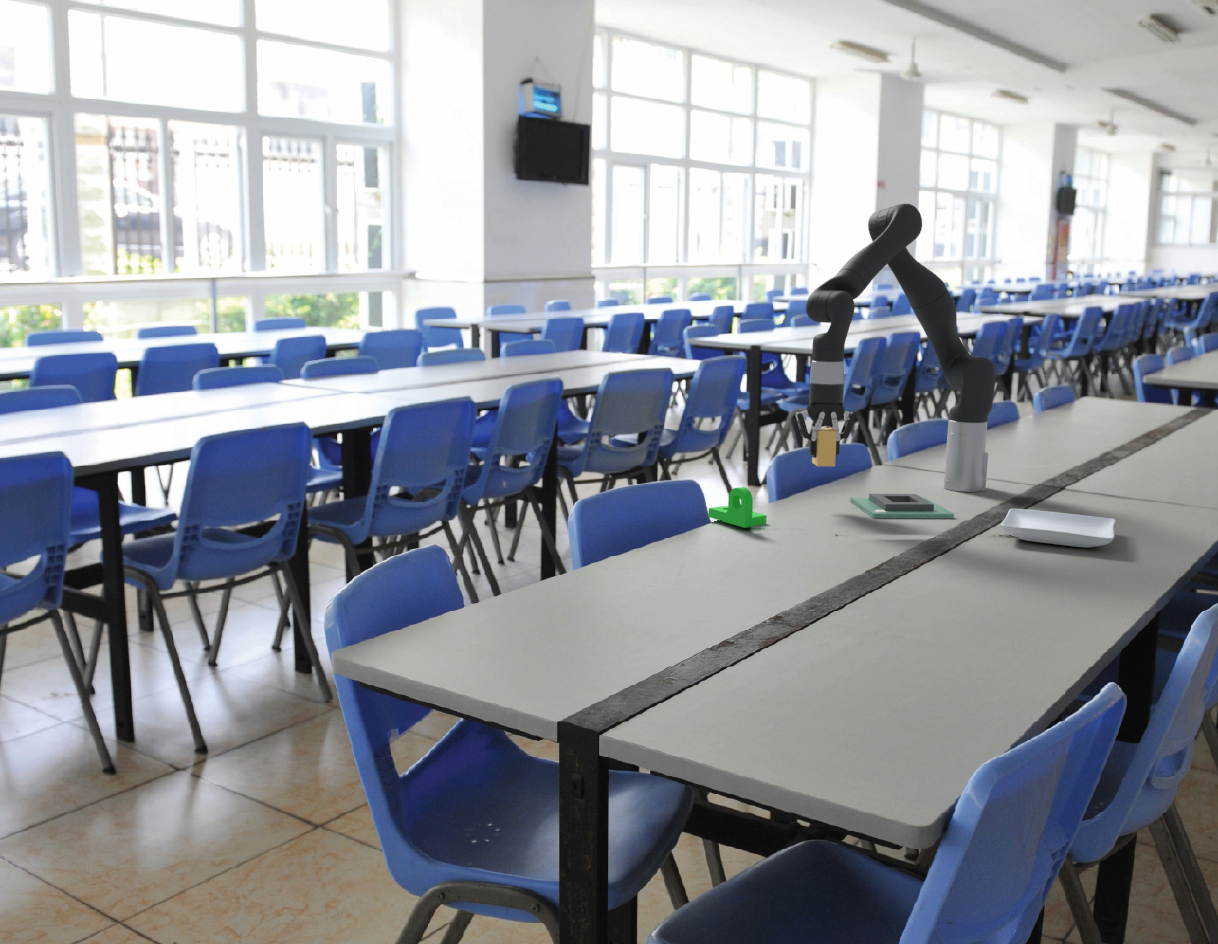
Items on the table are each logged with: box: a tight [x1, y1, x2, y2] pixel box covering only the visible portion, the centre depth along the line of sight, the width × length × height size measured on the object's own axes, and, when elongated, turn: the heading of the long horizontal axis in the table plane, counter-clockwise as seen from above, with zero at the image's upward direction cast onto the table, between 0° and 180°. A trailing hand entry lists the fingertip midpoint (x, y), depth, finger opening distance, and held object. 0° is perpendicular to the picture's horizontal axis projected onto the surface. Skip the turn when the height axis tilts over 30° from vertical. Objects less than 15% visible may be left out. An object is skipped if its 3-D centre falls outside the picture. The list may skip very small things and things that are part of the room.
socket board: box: [849, 493, 955, 519], centre depth 255 cm, size 18×18×2 cm
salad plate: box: [1000, 508, 1116, 548], centre depth 233 cm, size 21×21×3 cm
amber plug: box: [811, 427, 837, 467], centre depth 254 cm, size 4×5×8 cm
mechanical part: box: [707, 486, 767, 529], centre depth 241 cm, size 12×6×8 cm, turn 34°
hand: (823, 456), depth 254 cm, fingers closed on amber plug, 4 cm apart
